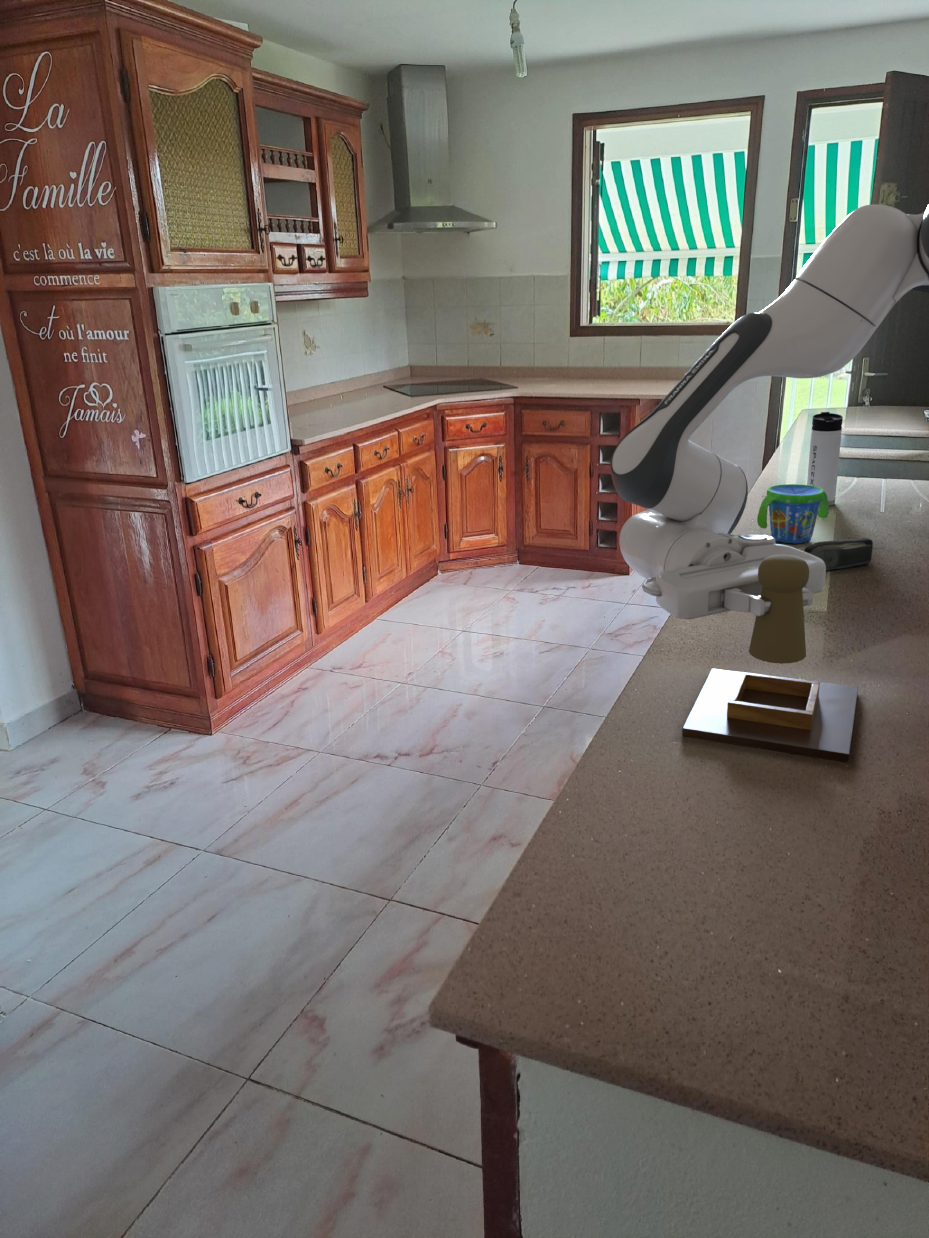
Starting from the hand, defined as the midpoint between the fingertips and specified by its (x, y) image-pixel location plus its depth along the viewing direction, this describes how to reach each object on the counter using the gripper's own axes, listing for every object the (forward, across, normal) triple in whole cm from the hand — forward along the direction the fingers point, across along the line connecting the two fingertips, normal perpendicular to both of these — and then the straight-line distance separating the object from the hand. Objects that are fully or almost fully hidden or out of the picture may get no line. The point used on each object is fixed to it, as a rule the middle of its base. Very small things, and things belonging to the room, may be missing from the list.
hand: (787, 604), depth 94 cm
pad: (-6, +4, +17) cm, 18 cm away
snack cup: (-64, +56, +17) cm, 87 cm away
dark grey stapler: (-46, +50, +17) cm, 70 cm away
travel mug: (-84, +82, +17) cm, 118 cm away
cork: (-1, 0, +6) cm, 6 cm away
